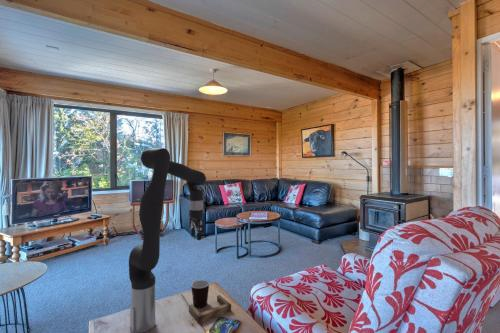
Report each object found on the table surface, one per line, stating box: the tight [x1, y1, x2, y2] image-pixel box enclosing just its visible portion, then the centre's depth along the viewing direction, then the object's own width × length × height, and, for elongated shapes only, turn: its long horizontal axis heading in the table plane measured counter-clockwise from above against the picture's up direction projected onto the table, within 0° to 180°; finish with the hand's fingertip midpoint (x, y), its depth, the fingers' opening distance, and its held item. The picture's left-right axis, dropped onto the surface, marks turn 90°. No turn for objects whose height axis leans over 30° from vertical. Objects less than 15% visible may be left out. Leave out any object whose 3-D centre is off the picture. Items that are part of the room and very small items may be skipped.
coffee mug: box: [190, 279, 210, 310], centre depth 121 cm, size 12×9×10 cm
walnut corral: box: [188, 294, 232, 324], centre depth 114 cm, size 16×11×3 cm
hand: (196, 238), depth 135 cm, fingers open, 8 cm apart
